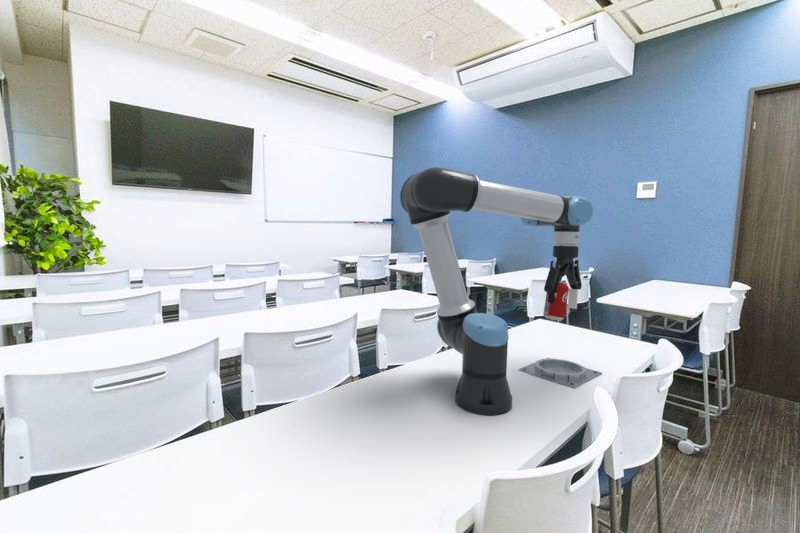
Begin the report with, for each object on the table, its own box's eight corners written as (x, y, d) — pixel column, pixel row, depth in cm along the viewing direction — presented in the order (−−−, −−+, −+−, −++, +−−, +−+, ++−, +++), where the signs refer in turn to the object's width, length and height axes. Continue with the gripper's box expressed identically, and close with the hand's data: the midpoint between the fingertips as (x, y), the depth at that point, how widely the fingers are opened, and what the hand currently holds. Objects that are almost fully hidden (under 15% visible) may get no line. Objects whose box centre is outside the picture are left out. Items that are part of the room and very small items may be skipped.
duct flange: (574, 388, 114) (575, 381, 114) (518, 370, 129) (518, 364, 129) (601, 374, 127) (602, 368, 127) (547, 359, 141) (547, 353, 141)
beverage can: (566, 322, 119) (572, 283, 120) (545, 318, 120) (551, 280, 120) (560, 320, 125) (565, 284, 126) (540, 317, 126) (546, 280, 127)
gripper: (557, 246, 113) (553, 317, 115) (594, 245, 129) (591, 308, 131) (534, 245, 119) (531, 313, 121) (572, 244, 135) (569, 304, 137)
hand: (562, 310), depth 126 cm, fingers open, 13 cm apart
